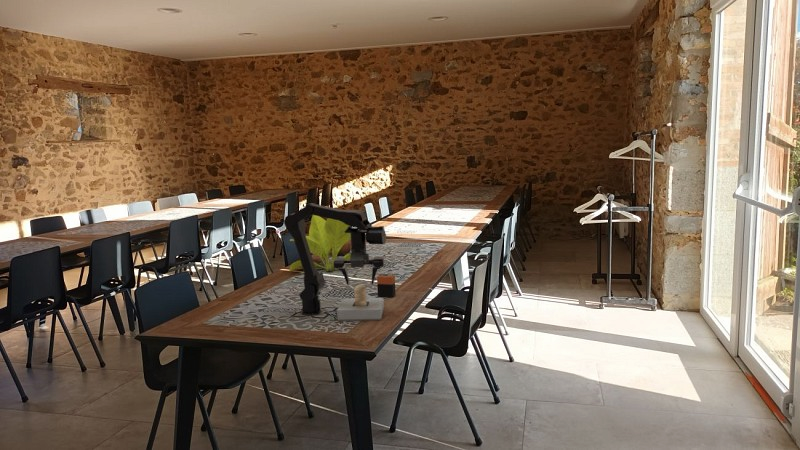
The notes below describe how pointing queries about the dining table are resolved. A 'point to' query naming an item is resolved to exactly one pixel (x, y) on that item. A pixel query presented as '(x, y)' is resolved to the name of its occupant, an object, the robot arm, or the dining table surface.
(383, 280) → the battery
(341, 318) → the socket block
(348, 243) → the butternut squash
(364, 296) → the peg
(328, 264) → the artificial plant
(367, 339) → the dining table surface
